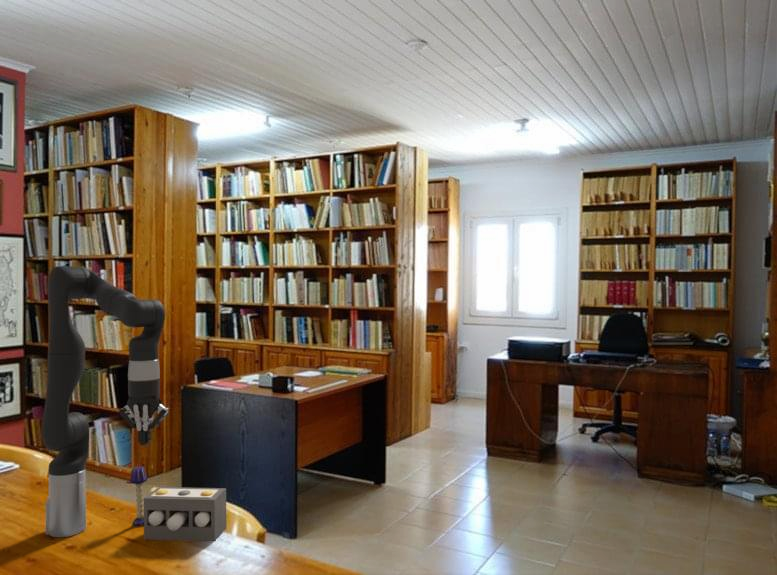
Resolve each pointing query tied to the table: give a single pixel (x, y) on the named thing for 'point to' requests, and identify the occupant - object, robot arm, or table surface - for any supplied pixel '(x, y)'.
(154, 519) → the button left
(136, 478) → the toy lamp
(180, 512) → the button middle
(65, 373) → the robot arm
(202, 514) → the button right
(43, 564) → the table surface
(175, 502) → the button box
